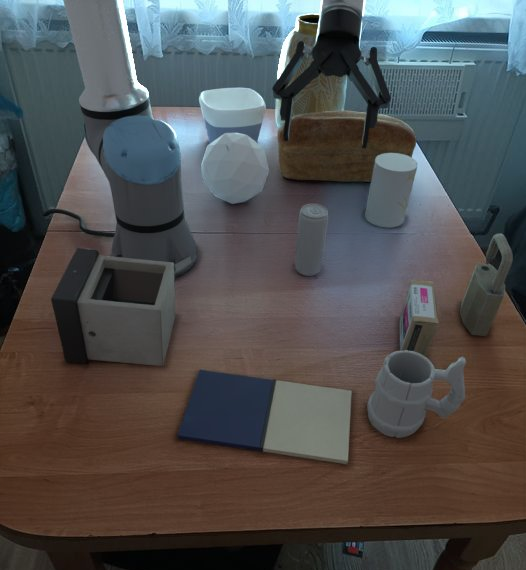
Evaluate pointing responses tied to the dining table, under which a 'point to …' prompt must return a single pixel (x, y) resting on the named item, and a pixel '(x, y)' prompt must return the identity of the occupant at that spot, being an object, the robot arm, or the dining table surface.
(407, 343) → the ink box
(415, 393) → the mug
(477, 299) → the padlock
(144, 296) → the grey open box
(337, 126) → the bread
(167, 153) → the robot arm
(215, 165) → the geodesic sphere
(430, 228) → the dining table surface
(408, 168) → the white cylinder
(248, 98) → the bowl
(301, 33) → the vase
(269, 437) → the board
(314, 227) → the beverage can
